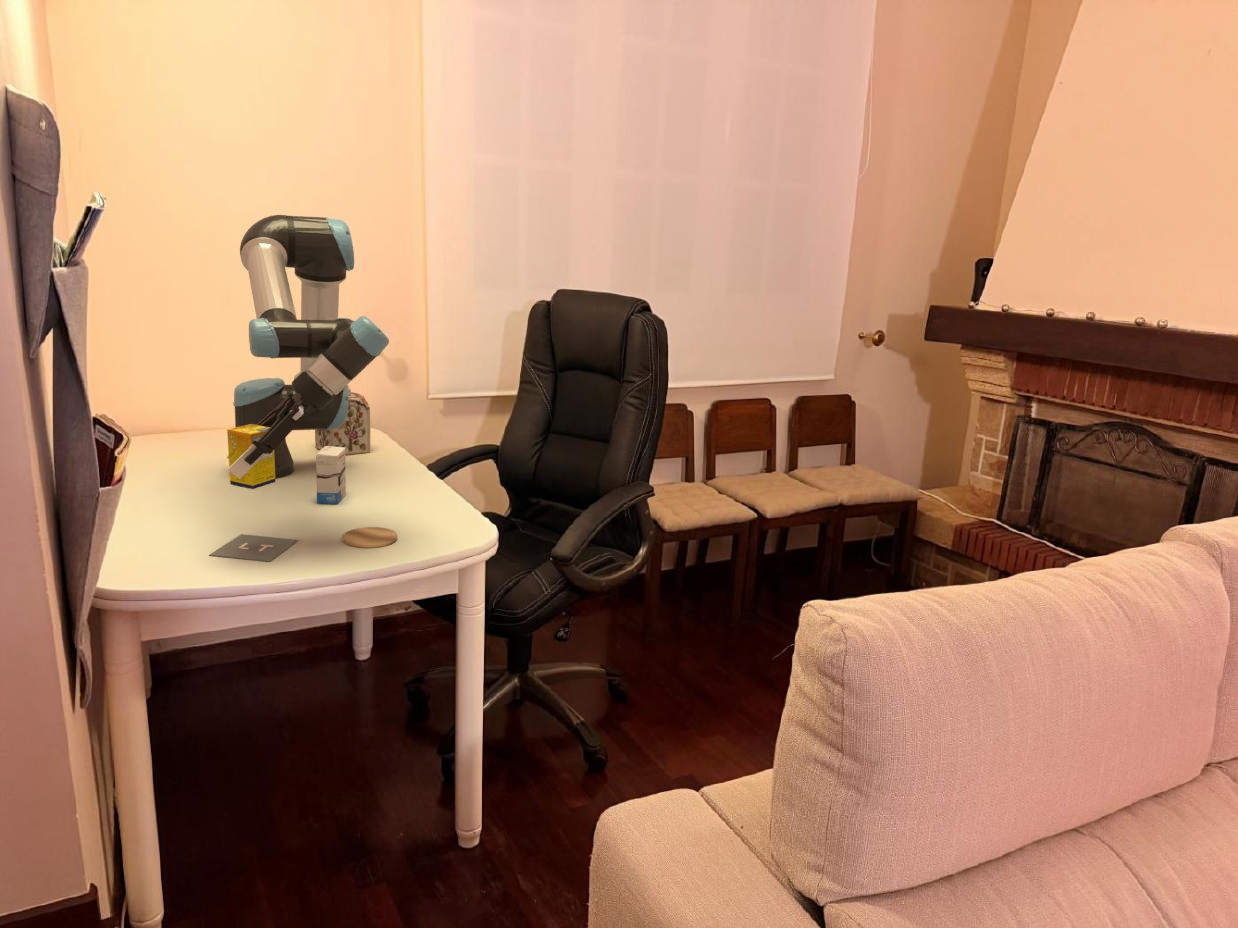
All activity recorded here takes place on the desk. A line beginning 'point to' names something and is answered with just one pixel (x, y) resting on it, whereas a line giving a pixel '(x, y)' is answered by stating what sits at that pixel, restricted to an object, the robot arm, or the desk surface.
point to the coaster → (370, 537)
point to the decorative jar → (349, 429)
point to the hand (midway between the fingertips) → (233, 467)
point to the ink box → (330, 475)
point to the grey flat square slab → (254, 548)
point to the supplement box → (239, 444)
